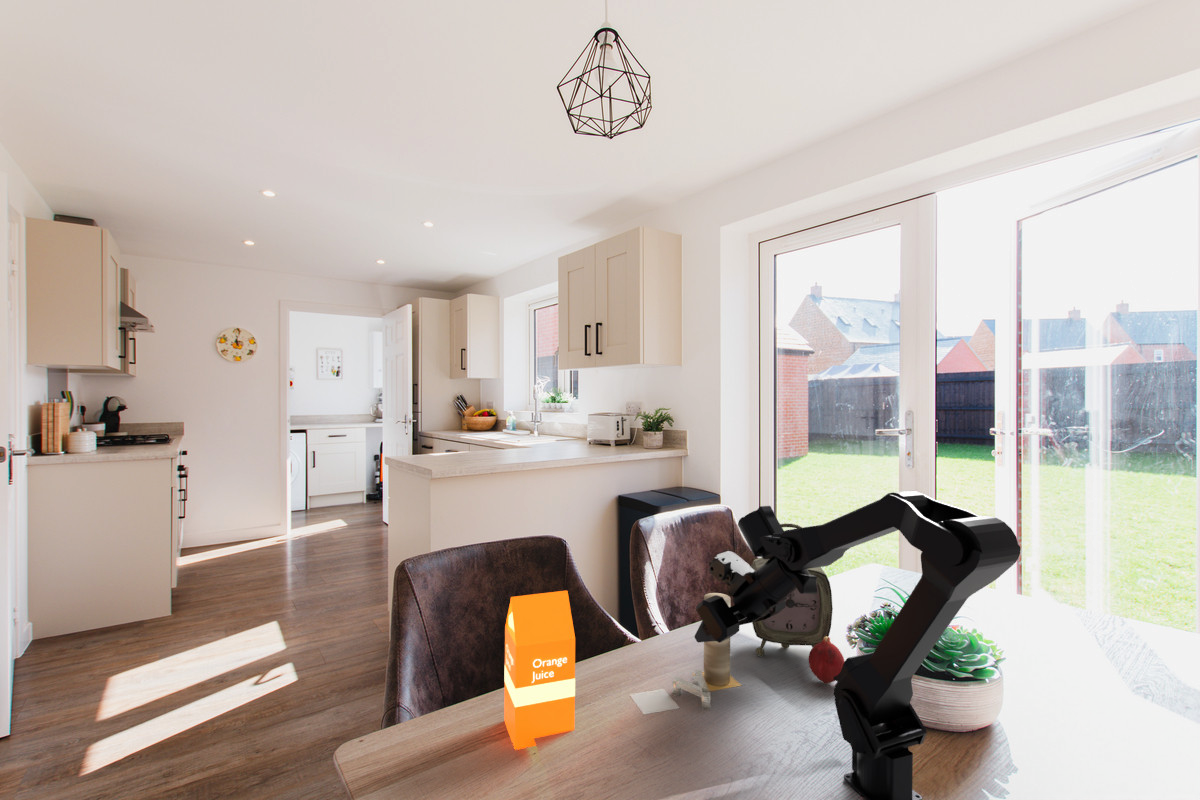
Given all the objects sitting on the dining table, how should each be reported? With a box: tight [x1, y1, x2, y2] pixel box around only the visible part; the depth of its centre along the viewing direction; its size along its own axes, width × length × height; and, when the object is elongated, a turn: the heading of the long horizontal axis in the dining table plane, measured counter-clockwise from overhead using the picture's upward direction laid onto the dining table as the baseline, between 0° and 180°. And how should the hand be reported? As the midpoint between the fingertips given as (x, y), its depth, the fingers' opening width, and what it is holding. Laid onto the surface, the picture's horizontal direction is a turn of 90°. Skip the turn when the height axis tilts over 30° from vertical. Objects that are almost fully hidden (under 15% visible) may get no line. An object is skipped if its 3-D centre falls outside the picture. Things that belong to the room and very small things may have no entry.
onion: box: [807, 636, 846, 685], centre depth 97 cm, size 6×6×8 cm
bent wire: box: [671, 669, 712, 711], centre depth 90 cm, size 7×6×2 cm
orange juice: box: [503, 590, 576, 751], centre depth 83 cm, size 8×9×20 cm
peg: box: [703, 592, 732, 686], centre depth 96 cm, size 4×4×14 cm
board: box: [628, 671, 742, 716], centre depth 90 cm, size 14×20×1 cm
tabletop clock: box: [750, 523, 834, 657], centre depth 109 cm, size 14×9×25 cm, turn 80°
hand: (712, 631), depth 96 cm, fingers open, 9 cm apart
